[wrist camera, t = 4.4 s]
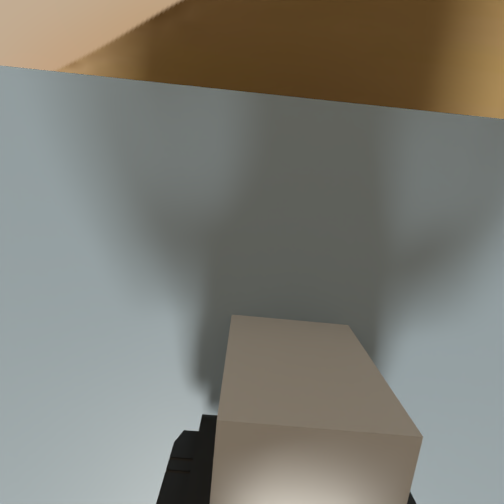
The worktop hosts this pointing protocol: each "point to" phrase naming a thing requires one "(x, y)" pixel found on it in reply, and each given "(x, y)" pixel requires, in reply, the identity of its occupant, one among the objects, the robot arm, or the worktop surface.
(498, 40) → the worktop surface
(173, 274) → the lid
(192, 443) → the robot arm
